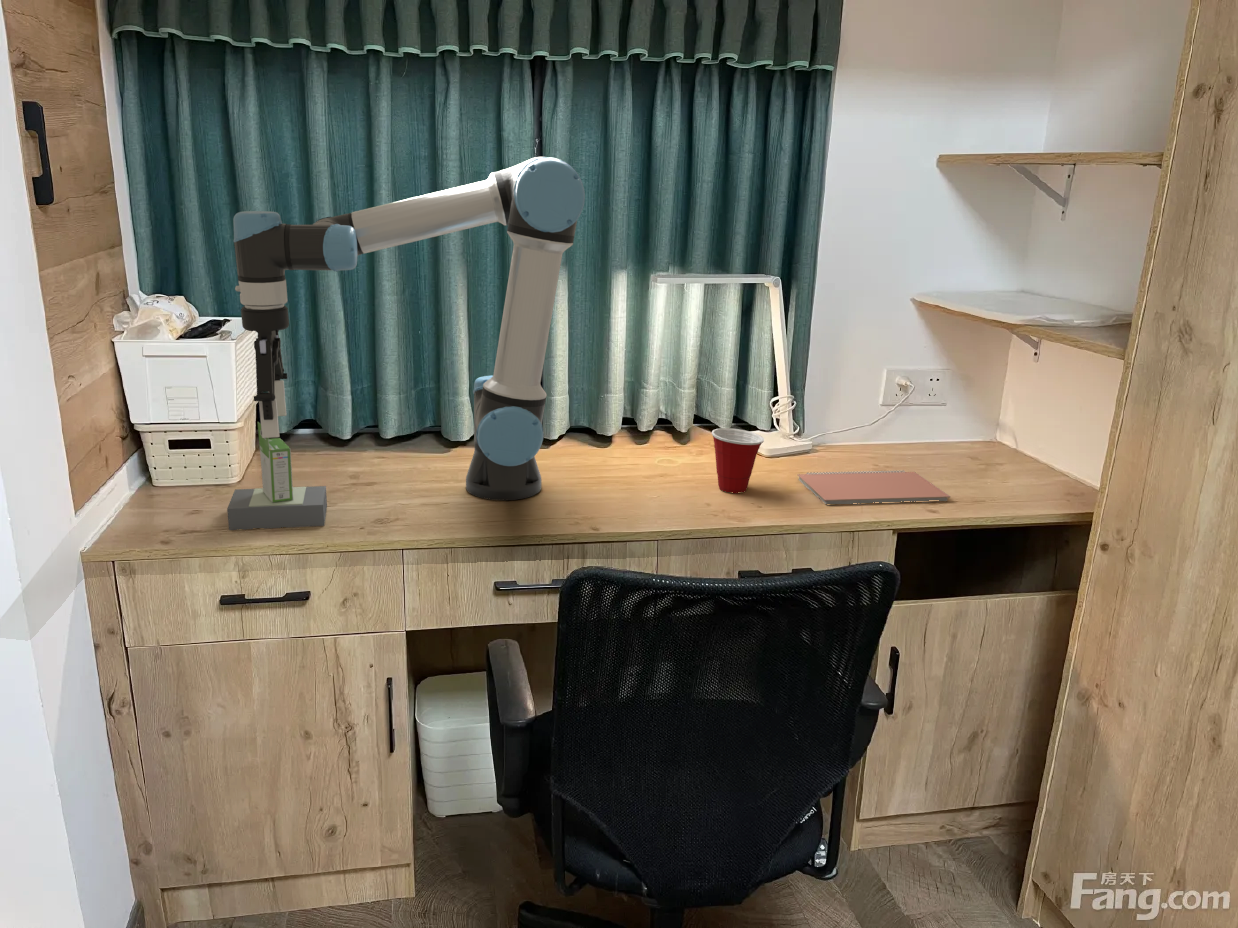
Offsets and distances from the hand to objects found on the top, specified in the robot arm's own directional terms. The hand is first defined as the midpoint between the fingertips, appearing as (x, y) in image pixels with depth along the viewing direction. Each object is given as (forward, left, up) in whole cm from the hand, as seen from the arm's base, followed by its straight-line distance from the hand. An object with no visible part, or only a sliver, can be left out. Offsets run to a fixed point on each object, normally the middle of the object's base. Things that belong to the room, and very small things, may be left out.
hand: (274, 426), depth 171 cm
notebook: (-118, -1, -18) cm, 119 cm away
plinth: (0, 0, -17) cm, 17 cm away
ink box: (0, 0, -13) cm, 13 cm away
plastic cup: (-89, -5, -18) cm, 91 cm away
